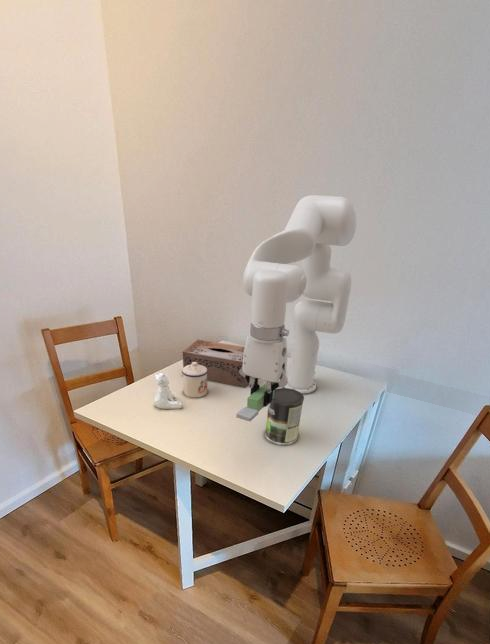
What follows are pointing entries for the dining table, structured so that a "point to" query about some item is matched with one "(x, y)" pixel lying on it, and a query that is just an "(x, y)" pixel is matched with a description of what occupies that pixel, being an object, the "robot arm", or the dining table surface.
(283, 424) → the coffee can
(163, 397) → the sitting furry creature
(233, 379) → the tissue box cover
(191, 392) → the teacup with lid
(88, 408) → the dining table surface
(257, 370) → the robot arm
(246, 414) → the green bar grey end
